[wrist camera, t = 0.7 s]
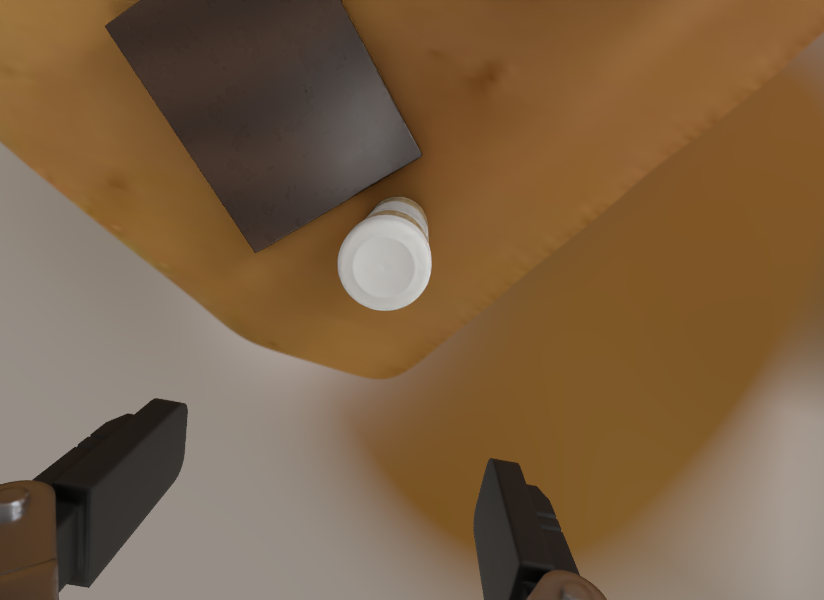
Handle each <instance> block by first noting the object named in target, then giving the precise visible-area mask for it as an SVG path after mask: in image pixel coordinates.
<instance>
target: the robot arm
mask: <svg viewBox="0 0 824 600" xmlns="http://www.w3.org/2000/svg"><path fill="white" fill-rule="evenodd" d="M187 414H188V409H187V405H186V404H185V403H180V402H174V401H169V400H163V399H158V398H155V399H153V400H151V401H150V402H149V403H148V404H147V405H145V406H144V407H143V408H142V409H141V410H139V411H138V412H137V413H136V414H134V415H133V414H125V415H123V416H120V417H118V418H116V419H113V420H111V421H109V422H106V423H105V424H104V425H102V426H101V427H100V428H99V429H97V430H96V431H95V432H93V433H92V434H91V436H90V437H87V438H86V439H84V440H83V441H82V442H81V443H79V444H78V446H77V447H74V448H73V449H72V450H70V451H69V452H68V453H66V454H65V455H64V456H63V457H61V458H60V459H59V460H57V461H56V462H55V463H54V464H52V465H51V466H50V467H48V468H47V469H46V470H45V471H43V472H42V473H41V474H40V475H38V476H37V477H36V478H34V479H33V480H24V481H14V482H8V483H4V484H0V600H59V592H60V591H61V589H63V587H64V586H65V585H66V584H69V585H76V586H82V587H88V588H89V587H90V586H91V584H92V583H93V582H94V581H95V579H96V578H97V577H98V576H99V574H100V573H101V572H102V571H103V569H104V568H105V567H106V566H107V565H108V563H109V562H110V561H111V560H112V558H113V557H114V556H115V555H116V553H117V552H118V551H119V550H120V548H121V547H122V546H123V545H124V543H125V542H126V541H127V540H128V539H129V537H130V536H131V535H132V534H133V532H134V531H135V530H136V529H137V527H138V526H139V525H140V524H141V522H142V521H143V520H144V519H145V517H146V516H147V515H148V514H149V512H150V511H151V510H152V509H153V507H154V506H155V505H156V504H157V502H158V501H159V500H160V499H161V497H162V496H163V495H164V494H165V493H166V491H167V490H168V489H169V488H170V486H171V485H172V484H173V483H174V481H175V480H176V478H177V476H178V475H179V472H180V470H181V467H182V464H183V460H184V454H185V441H186V427H187ZM474 538H475V543H476V550H477V557H478V563H479V570H480V576H481V583H482V589H483V596H484V600H607V599H606V598H605V596H604V595H603V594H602V592H601V591H600V590H599V589H598V588H597V587H596V586H594V585H593V584H592V583H591V582H589V581H588V580H587V579H585V578H583V577H581V576H580V575H579V572H578V569H577V567H576V564H575V562H574V560H573V557H572V555H571V552H570V550H569V547H568V545H567V542H566V540H565V537H564V535H563V533H562V532H561V527H560V525H559V523H558V520H557V519H556V515H555V513H554V510H553V508H552V505H551V503H550V501H549V499H548V498H547V497H546V496H545V495H544V494H543V493H542V492H541V491H540V489H539V488H538V487H537V486H532V485H527V484H526V482H525V479H524V476H523V473H522V471H521V468H520V465H519V464H518V463H515V462H509V461H503V460H497V459H492V458H490V459H489V461H488V463H487V466H486V470H485V474H484V477H483V481H482V485H481V489H480V493H479V497H478V500H477V504H476V509H475V515H474Z"/></svg>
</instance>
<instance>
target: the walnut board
mask: <svg viewBox="0 0 824 600" xmlns="http://www.w3.org/2000/svg"><path fill="white" fill-rule="evenodd" d="M105 28H106V29H107V31H108V32H109V34H110V35H111V37H112V38H113V40H114V41H115V43H116V44H117V46H118V47H119V49H120V50H121V52H122V53H123V55H124V56H125V58H126V59H127V61H128V62H129V64H130V65H131V67H132V68H133V70H134V71H135V73H136V74H137V76H138V77H139V79H140V80H141V82H142V83H143V85H144V86H145V88H146V89H147V91H148V92H149V94H150V95H151V97H152V98H153V100H154V101H155V103H156V104H157V106H158V107H159V109H160V110H161V112H162V113H163V115H164V116H165V118H166V119H167V121H168V122H169V124H170V125H171V127H172V128H173V130H174V131H175V133H176V134H177V136H178V137H179V139H180V140H181V142H182V143H183V145H184V147H185V148H186V150H187V151H188V153H189V154H190V156H191V157H192V159H193V160H194V162H195V163H196V165H197V166H198V168H199V169H200V171H201V172H202V174H203V175H204V177H205V178H206V180H207V181H208V183H209V184H210V186H211V187H212V189H213V190H214V192H215V193H216V195H217V196H218V198H219V199H220V201H221V202H222V204H223V205H224V207H225V208H226V210H227V211H228V213H229V214H230V216H231V217H232V219H233V220H234V222H235V223H236V225H237V226H238V228H239V229H240V231H241V232H242V234H243V235H244V237H245V238H246V240H247V241H248V243H249V244H250V246H251V247H252V249H253V250H254V252H255V253H257V252H259V251H261V250H262V249H264V248H266V247H267V246H269V245H271V244H273V243H274V242H276V241H278V240H279V239H281V238H283V237H285V236H286V235H288V234H290V233H291V232H293V231H295V230H296V229H298V228H300V227H302V226H303V225H305V224H307V223H308V222H310V221H312V220H314V219H315V218H317V217H319V216H320V215H322V214H324V213H326V212H327V211H329V210H331V209H332V208H334V207H336V206H338V205H339V204H341V203H343V202H344V201H346V200H348V199H350V198H351V197H353V196H355V195H356V194H358V193H360V192H362V191H363V190H365V189H367V188H368V187H370V186H372V185H373V184H375V183H377V182H379V181H380V180H382V179H384V178H385V177H387V176H389V175H391V174H392V173H394V172H396V171H397V170H399V169H401V168H403V167H404V166H406V165H408V164H409V163H411V162H413V161H415V160H416V159H418V158H420V157H421V156H422V153H421V152H420V150H419V148H418V146H417V144H416V142H415V140H414V138H413V136H412V135H411V133H410V131H409V129H408V127H407V125H406V123H405V121H404V119H403V118H402V116H401V114H400V112H399V110H398V108H397V106H396V104H395V103H394V101H393V99H392V97H391V95H390V93H389V91H388V89H387V87H386V86H385V84H384V82H383V80H382V78H381V76H380V74H379V72H378V70H377V69H376V67H375V65H374V63H373V61H372V59H371V57H370V55H369V53H368V52H367V50H366V48H365V46H364V44H363V42H362V40H361V38H360V37H359V35H358V33H357V31H356V29H355V27H354V25H353V23H352V21H351V20H350V18H349V16H348V14H347V12H346V10H345V8H344V6H343V4H342V3H341V1H340V0H140V1H138V2H137V3H136V4H134V5H133V6H132V7H130V8H129V9H127V10H126V11H125V12H123V13H122V14H121V15H119V16H118V17H116V18H115V19H114V20H112V21H111V22H110V23H108V24H107V25H106V26H105Z"/></svg>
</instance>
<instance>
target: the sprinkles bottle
mask: <svg viewBox="0 0 824 600" xmlns="http://www.w3.org/2000/svg"><path fill="white" fill-rule="evenodd" d="M338 273H339V277H340V280H341V282H342V285H343V286H344V288H345V290H346V291H347V292H348V294H349V295H350V296H351V297H352V298H353V299H354V300H356V301H357V302H358V303H360V304H362V305H364V306H366V307H368V308H371V309H374V310H382V311H389V310H396V309H400V308H402V307H405V306H407V305H409V304H410V303H412V302H413V301H415V300H416V299H417V298H418V297H419V296H420V295H421V293H422V292H423V291H424V289H425V287H426V286H427V284H428V281H429V278H430V274H431V251H430V247H429V244H428V222H427V218H426V215H425V213H424V211H423V209H422V208H421V207H420V206H419V205H418V204H417V203H416V202H414V201H413V200H411V199H408V198H405V197H390V198H387V199H385V200H383V201H381V202H380V203H379V204H378V205H377V206H376V207H375V208H374V209H373V211H372V212H371V213H370V214H369V215H368V216H367V217H366V218H365V219H364V220H363V221H362V222H360V223H359V224H358V225H356V226H355V227H354V228H353V229H352V230H351V231H350V233H349V234H348V235H347V237H346V238H345V240H344V241H343V243H342V245H341V248H340V251H339V255H338Z"/></svg>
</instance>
